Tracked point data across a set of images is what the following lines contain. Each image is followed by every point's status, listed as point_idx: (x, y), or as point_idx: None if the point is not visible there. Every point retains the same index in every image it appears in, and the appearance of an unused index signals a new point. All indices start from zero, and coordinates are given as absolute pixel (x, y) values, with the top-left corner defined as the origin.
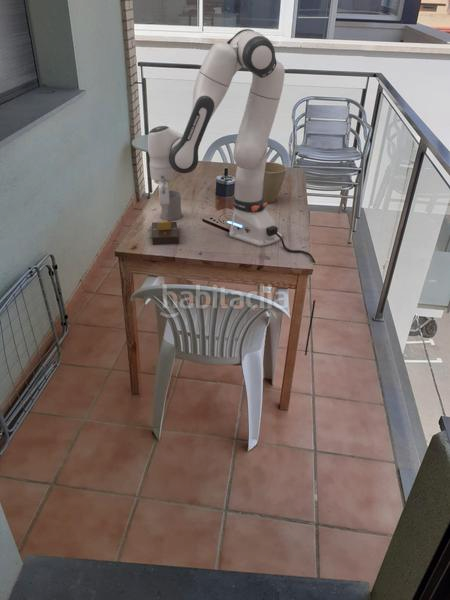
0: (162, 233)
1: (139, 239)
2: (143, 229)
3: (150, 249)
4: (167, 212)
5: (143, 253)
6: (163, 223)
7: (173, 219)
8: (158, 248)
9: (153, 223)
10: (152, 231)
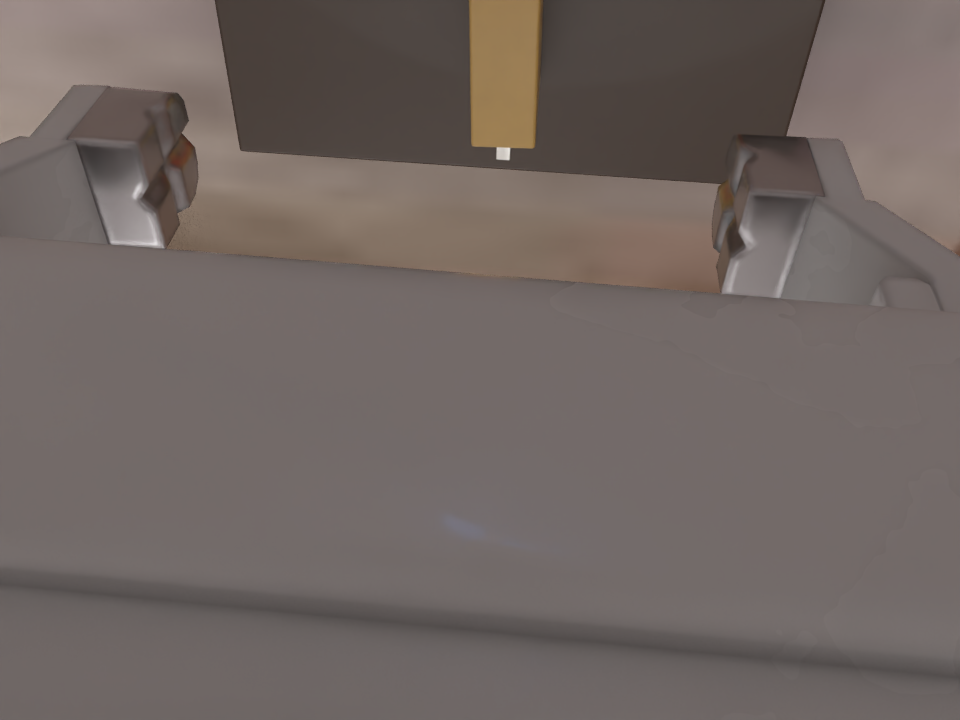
0: (672, 29)
1: (562, 261)
2: (280, 202)
3: (883, 166)
4: (839, 147)
5: (954, 247)
6: (539, 48)
7: None
8: (900, 65)
9: (277, 132)
10: (563, 168)
